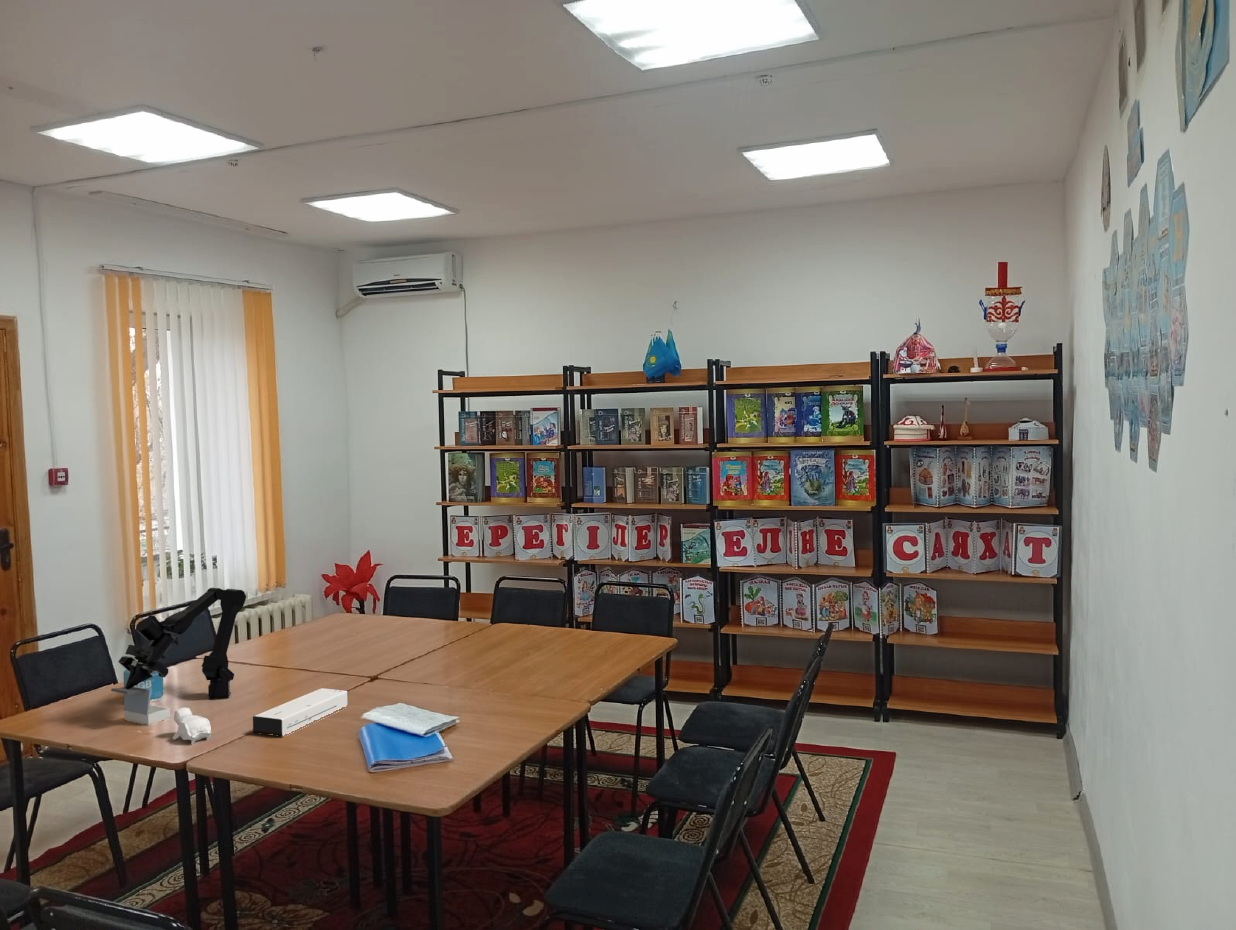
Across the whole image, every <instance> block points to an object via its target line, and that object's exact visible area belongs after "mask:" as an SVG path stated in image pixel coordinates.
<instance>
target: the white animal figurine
mask: <svg viewBox="0 0 1236 930" xmlns="http://www.w3.org/2000/svg"><path fill="white" fill-rule="evenodd" d="M173 720H174V722H175V724H177V726H178V727H177V731H176V732H175V733H174V735H173V736H172V740H173V741H176V740H178V739H180V738H181V739H182V740H183V741H187V740H188V741H191V744H192V745H195V744H194V743H196V741H200V740H202V739H206V741H210V740H211V737H212V736H211V735H212V728H211V722H210V721H209V719H208V718H206V717H203V716H200V715H193V712H192V711H191V709H190V708H189V707H180V708H177V709H176V710H175V711H174V713H173ZM209 739H210V740H209ZM191 744H190V745H191Z"/></svg>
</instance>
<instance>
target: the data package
mask: <svg viewBox="0 0 1236 930" xmlns="http://www.w3.org/2000/svg"><path fill="white" fill-rule="evenodd" d="M122 674H123V687H125V686H126V684H127V681H128V678H129V675H130V671H128V670H127V669H126V668H125V669H124V671H123V673H122ZM152 676H153V677H152V678H149V679H147V680H145V681H143V682H141V683H139V684H137V685H136V686H134V687H137V688H142V689H148V690H151V695H150V701H152V699H153V700H156V698H157V699H160V698H162V697H163V695H164V677H159V672H157V671H155V672H153V674H152ZM124 699H125V694H124V693H123V700H124Z"/></svg>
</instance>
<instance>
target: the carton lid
mask: <svg viewBox="0 0 1236 930" xmlns="http://www.w3.org/2000/svg"><path fill="white" fill-rule="evenodd" d="M110 690H111V692H115V693H118V694H123V695H124V694H125V699H124V698H123V700H124V701H123V708H122V709H123V711H124V712H125V711H129V712H134V713H139V714H144V715H148V713H149V704H150V702H151V700H150V695H151V690H148V689H142V688H137V687H132V688H130V689H126V688H125V687H124V686H123V687H115V688H111V689H110Z"/></svg>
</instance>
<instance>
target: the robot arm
mask: <svg viewBox="0 0 1236 930" xmlns="http://www.w3.org/2000/svg"><path fill="white" fill-rule="evenodd" d="M218 600H219V603H220V604H219V605H220V609H221V617H220V620H219V625H218V628H217V631H216V636H215V639H214V644H213V647H212V650H211V652H210V653H209V655H207V654H206V655H204V657H203V662H202V664H201V671H202V674H203V675H204V677H205V679H206V681H209V684H208V686H207V687H208V688H207V691H208V699H209V700H220V699H222V700H223V699H229V697H230V696H231V694H232V692H231V689H230V688H231V685H230V684H231V683H230V682H231V681H233V680H234V678H235V673H234V672H233V671H232V670H231V669H230V668H229V658H228V655H227V653H228V649H229V645H230V641H231V638H232V634H233V630H234V626H235V623H236V618H237V615H238V614H239V613H240V611H241V610H242V609H243V608H244V605H245V602H246V600H247V594H246V593H245V591H244V590H242V589H238V588H237V589H235V588H227V589H226V588H225V589H224V588H223V589H222V588H219V587H210V588H208V589H207V590H206V592H204V593H203V594H201V595H200V597H198V598H197V599H195V600H194V601H193V602H192V603H191V604H190V605H188V606H187V607H185V608H184V609H183V610H181V611H178V612H175V613H173V614H170V615H169V616H167V617H166V618H165V619H164V620H162V621H159V619H157V617H156V616H155V615H152V614H149V615H148V616H147V617H146V618H143V619H142V620H140V621H139V622H138V623H137V624H136V627H135V630H136V632H138V633H139V634H140V635H141V636H142V637H143V638H144V639H146V641H150V643H149V645H147V644H141V645H133V644H129V645H128V646H127V648H126V651H125V653H124V654H125V656H121V658H120V659H118V661H117V662H118V663H119V664H120V665H121V666H122V667H123V668H124V669H125V670H126V669H127V670H128V671H130V675H129V678H128V681H127V684H126V686H125V688H126V689H130V688H132V687H134V686H136V685H137V684H139V683H141V682H143V681H145V680H147V679H149V678H152V677H153V676H152V674H153V672H155V671H157V672H159V677H163V679H164V678H165V679H166V677H167V676H168V674H169V668H168V667H167V666H165V664H163V663H162V662H161V660H164V659H165V658H166V656H165V654H166V653H167V652H168V650H169V649H170V647H171V646H179V645H180V644H179V638H178V637H177V636H173V635H172V634H174V635H183V634H184V633H186V632H187V631H188V629H190V627H192V624H193V622H194V620H195V619H196V618H198V617H199V616H201V615H202V614H203V612H205V611H206V610H207V609H208V608H210V607H211V606H212V605H213V604H214V603H216V602H217V601H218ZM126 655H131V656H126Z"/></svg>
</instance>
